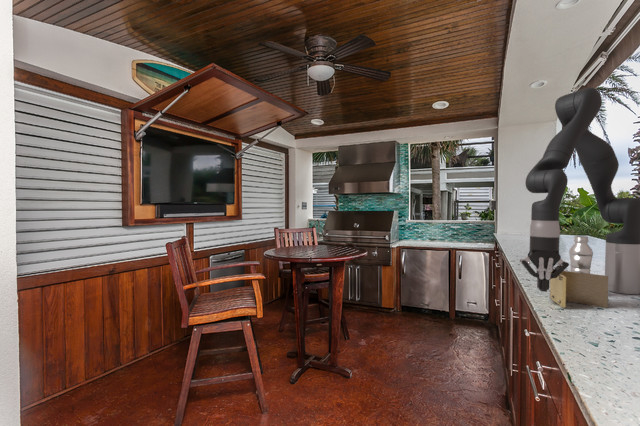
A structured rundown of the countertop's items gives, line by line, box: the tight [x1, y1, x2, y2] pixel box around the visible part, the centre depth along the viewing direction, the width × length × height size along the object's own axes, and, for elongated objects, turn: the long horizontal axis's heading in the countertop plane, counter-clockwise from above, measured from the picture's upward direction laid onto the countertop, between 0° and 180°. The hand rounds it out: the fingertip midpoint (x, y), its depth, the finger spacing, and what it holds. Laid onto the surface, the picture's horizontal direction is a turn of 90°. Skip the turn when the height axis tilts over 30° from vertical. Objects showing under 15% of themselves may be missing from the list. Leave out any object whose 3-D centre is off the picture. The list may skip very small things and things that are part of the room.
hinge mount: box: [549, 266, 610, 309], centre depth 104 cm, size 8×14×10 cm, turn 46°
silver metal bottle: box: [568, 235, 594, 274], centre depth 111 cm, size 6×7×20 cm
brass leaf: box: [549, 274, 567, 308], centre depth 101 cm, size 12×3×9 cm, turn 162°
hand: (542, 290), depth 100 cm, fingers closed
